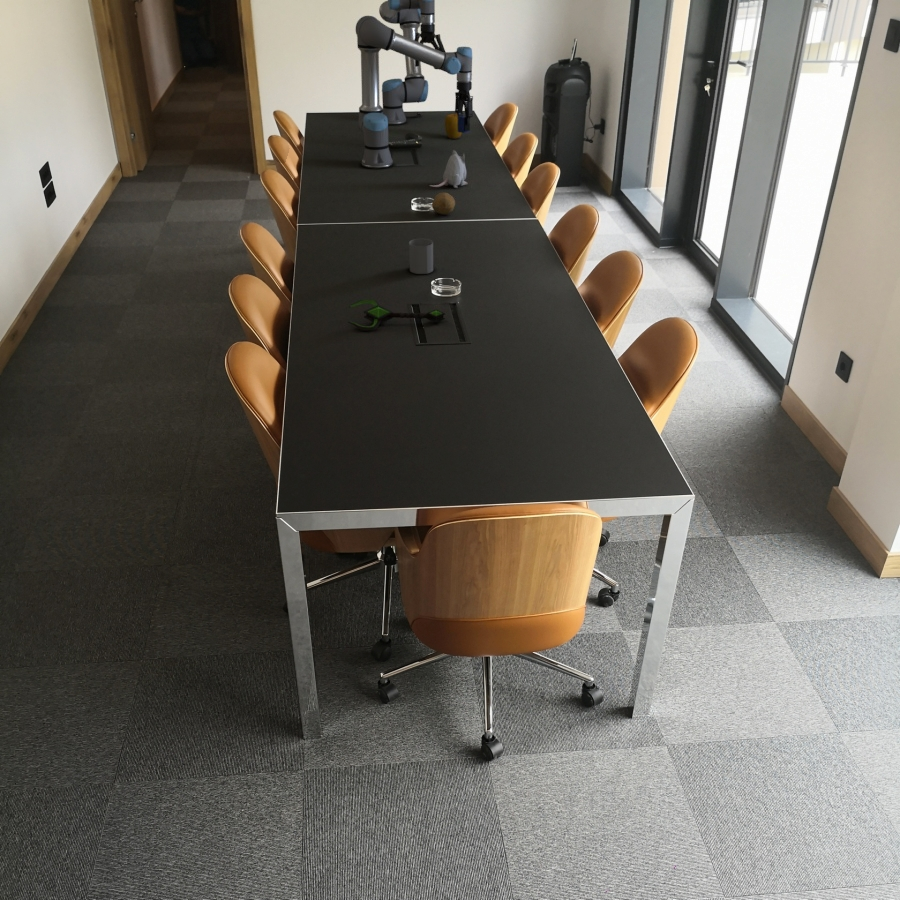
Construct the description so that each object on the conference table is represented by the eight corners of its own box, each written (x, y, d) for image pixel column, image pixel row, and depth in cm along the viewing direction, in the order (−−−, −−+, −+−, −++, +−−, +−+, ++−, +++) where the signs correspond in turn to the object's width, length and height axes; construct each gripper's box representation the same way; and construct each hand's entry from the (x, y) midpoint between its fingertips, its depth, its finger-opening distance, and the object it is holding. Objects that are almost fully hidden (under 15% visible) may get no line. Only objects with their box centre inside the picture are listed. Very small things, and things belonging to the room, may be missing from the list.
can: (461, 129, 447) (461, 114, 443) (471, 130, 444) (471, 116, 440) (455, 131, 442) (455, 116, 438) (465, 133, 440) (466, 118, 436)
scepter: (445, 294, 271) (348, 292, 269) (446, 325, 264) (347, 323, 262) (443, 307, 276) (349, 305, 274) (445, 338, 269) (347, 336, 267)
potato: (453, 208, 369) (453, 189, 365) (456, 218, 357) (456, 199, 353) (431, 208, 368) (430, 189, 364) (432, 218, 356) (432, 199, 352)
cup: (409, 265, 311) (408, 238, 306) (432, 265, 312) (431, 238, 307) (410, 274, 304) (409, 246, 299) (433, 273, 305) (433, 246, 299)
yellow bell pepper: (464, 140, 471) (464, 115, 464) (444, 140, 471) (444, 115, 464) (464, 135, 480) (464, 111, 473) (444, 135, 480) (444, 111, 473)
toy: (472, 184, 399) (472, 151, 391) (436, 195, 384) (436, 161, 376) (457, 180, 404) (458, 147, 396) (422, 191, 389) (421, 157, 381)
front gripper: (480, 83, 425) (479, 132, 437) (460, 77, 439) (460, 125, 451) (467, 84, 422) (466, 134, 434) (448, 78, 436) (447, 126, 448)
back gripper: (403, 22, 455) (404, 66, 467) (445, 25, 445) (445, 70, 457) (410, 21, 461) (411, 64, 472) (452, 24, 451) (451, 68, 462)
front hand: (463, 129), depth 443 cm, fingers closed on can, 6 cm apart
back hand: (428, 67), depth 464 cm, fingers open, 13 cm apart
